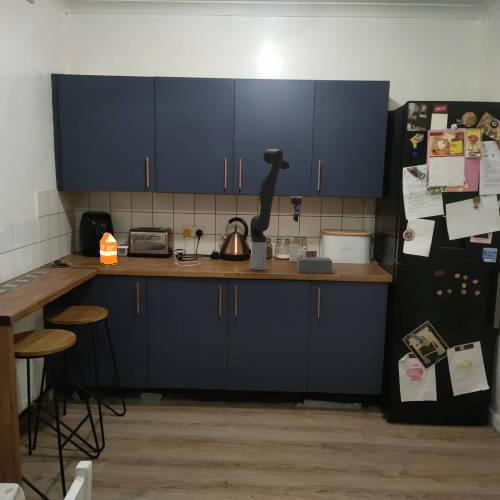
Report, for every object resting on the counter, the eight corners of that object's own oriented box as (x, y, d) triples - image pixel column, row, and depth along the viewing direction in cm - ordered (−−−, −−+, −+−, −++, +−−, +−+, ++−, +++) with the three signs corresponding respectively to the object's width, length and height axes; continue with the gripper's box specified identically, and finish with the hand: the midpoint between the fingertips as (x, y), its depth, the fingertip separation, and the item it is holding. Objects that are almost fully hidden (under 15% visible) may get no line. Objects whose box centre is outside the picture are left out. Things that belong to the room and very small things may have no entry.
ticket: (289, 261, 317) (290, 241, 315) (289, 261, 319) (289, 241, 317) (298, 261, 318) (298, 241, 316) (297, 261, 319) (298, 241, 317)
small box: (305, 266, 299) (305, 250, 297) (301, 265, 304) (302, 249, 303) (316, 266, 301) (317, 250, 300) (313, 264, 306) (313, 249, 305)
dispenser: (298, 273, 279) (299, 259, 277) (296, 269, 289) (297, 256, 287) (331, 273, 279) (332, 259, 278) (328, 270, 289) (328, 256, 288)
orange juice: (105, 265, 293) (104, 234, 290) (100, 263, 299) (99, 232, 296) (117, 263, 298) (116, 233, 294) (111, 261, 304) (111, 231, 301)
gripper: (289, 196, 319) (289, 220, 321) (292, 197, 304) (291, 222, 307) (300, 197, 319) (299, 220, 321) (303, 197, 305) (302, 222, 307)
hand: (295, 221), depth 314 cm, fingers open, 8 cm apart
